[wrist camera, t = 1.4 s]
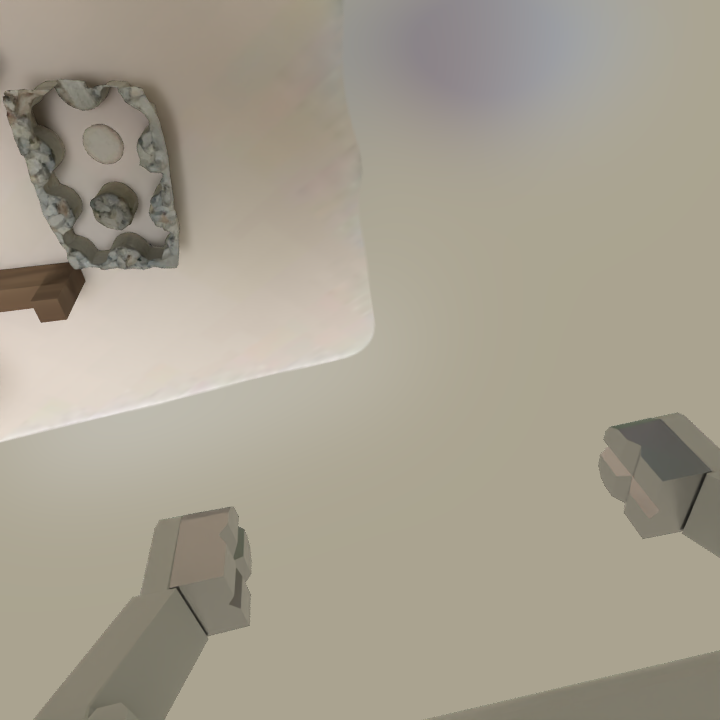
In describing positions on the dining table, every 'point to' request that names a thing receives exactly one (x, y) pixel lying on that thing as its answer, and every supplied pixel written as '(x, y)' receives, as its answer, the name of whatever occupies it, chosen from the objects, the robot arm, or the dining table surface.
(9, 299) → the walled channel
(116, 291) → the dining table surface
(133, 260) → the egg carton
